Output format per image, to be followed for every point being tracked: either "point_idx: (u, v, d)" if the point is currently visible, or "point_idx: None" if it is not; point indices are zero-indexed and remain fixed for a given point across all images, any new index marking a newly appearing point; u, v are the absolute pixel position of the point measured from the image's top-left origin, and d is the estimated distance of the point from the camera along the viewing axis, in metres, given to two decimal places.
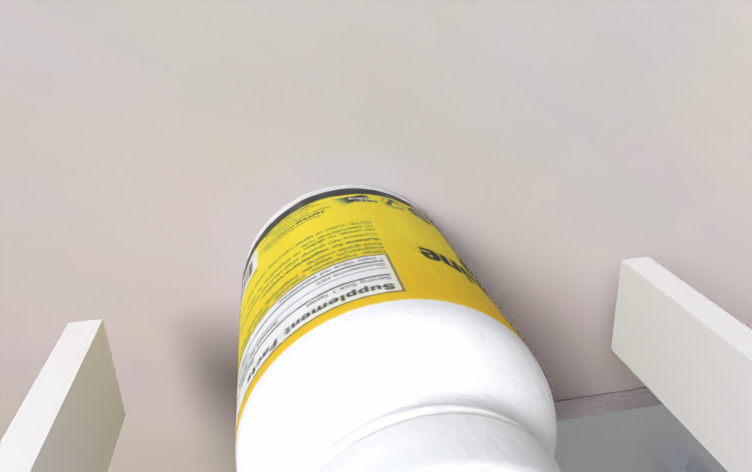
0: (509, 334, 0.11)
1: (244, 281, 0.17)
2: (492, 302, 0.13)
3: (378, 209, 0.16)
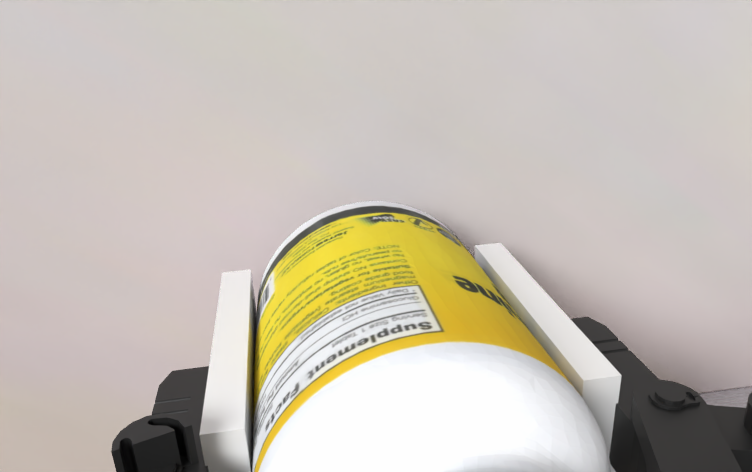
0: (561, 381, 0.10)
1: (259, 306, 0.15)
2: (535, 338, 0.12)
3: (405, 230, 0.14)
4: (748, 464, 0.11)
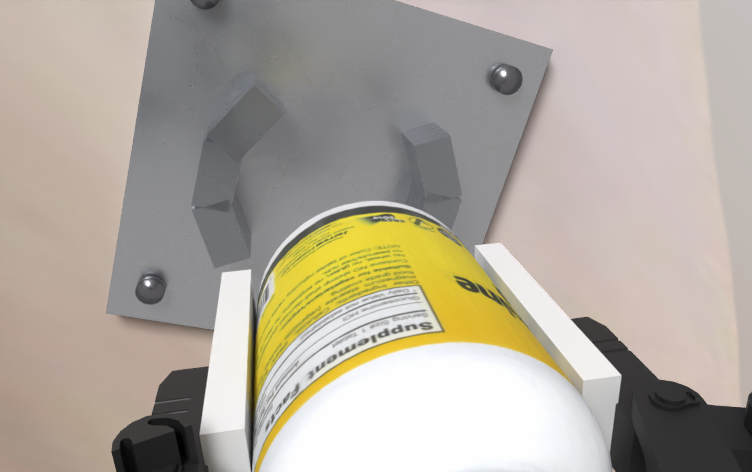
0: (562, 382, 0.10)
1: (259, 306, 0.15)
2: (536, 339, 0.12)
3: (406, 230, 0.14)
4: (748, 464, 0.11)
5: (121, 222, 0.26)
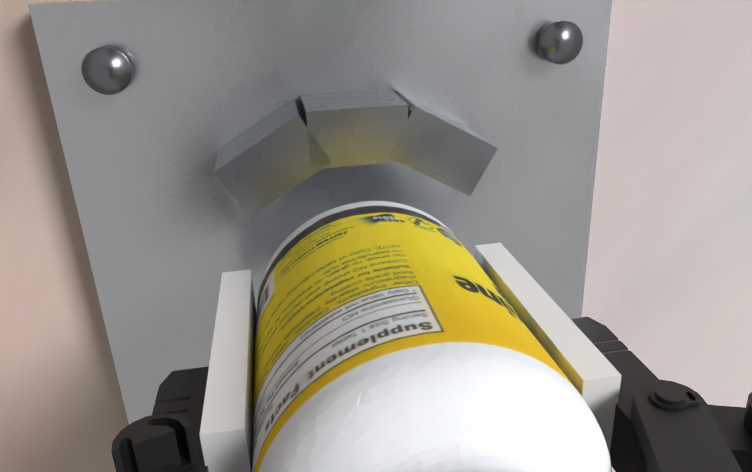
0: (562, 382, 0.10)
1: (259, 306, 0.15)
2: (536, 339, 0.12)
3: (406, 230, 0.14)
4: (748, 464, 0.11)
5: None
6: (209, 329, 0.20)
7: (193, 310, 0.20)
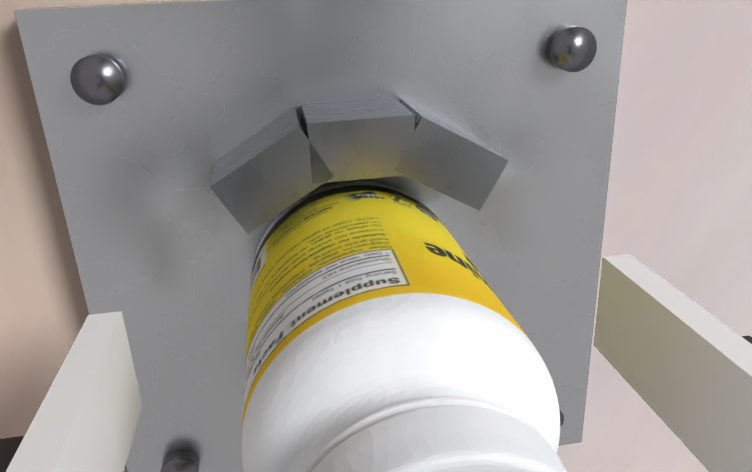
0: (513, 329, 0.11)
1: (252, 276, 0.17)
2: (497, 298, 0.13)
3: (385, 205, 0.16)
4: None
5: (200, 3, 0.16)
6: (206, 348, 0.19)
7: (188, 329, 0.19)
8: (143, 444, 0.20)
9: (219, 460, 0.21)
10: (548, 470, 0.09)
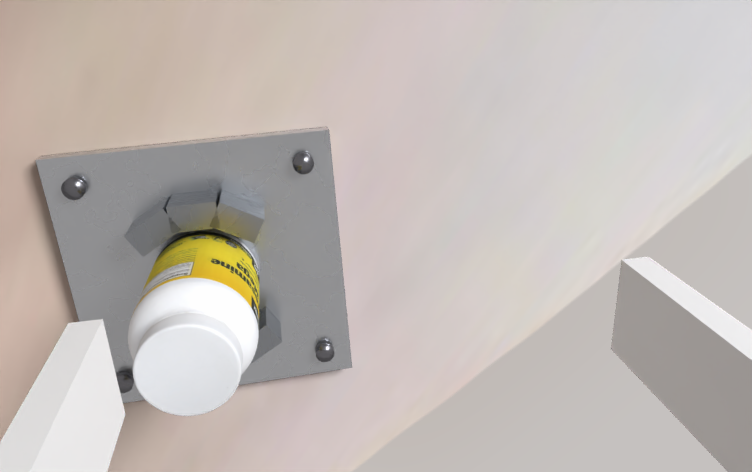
0: (229, 290, 0.30)
1: None
2: (240, 280, 0.32)
3: (206, 241, 0.34)
4: None
5: (120, 152, 0.35)
6: None
7: (124, 305, 0.38)
8: None
9: None
10: (214, 330, 0.27)
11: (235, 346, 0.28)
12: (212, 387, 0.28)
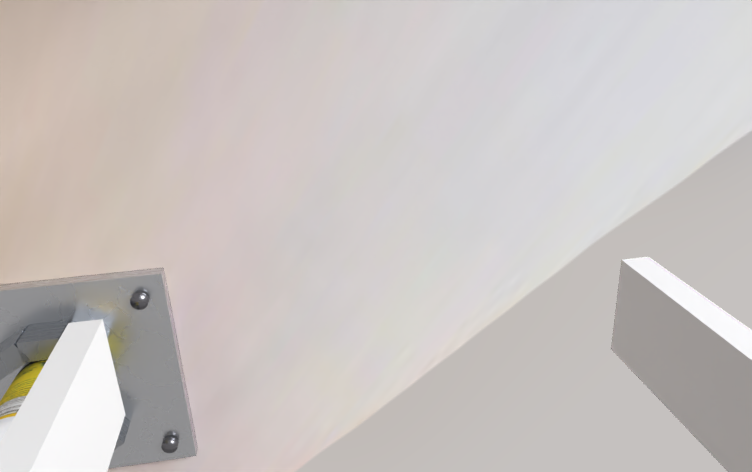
0: None
1: None
2: None
3: None
4: None
5: None
6: None
7: None
8: None
9: None
10: None
11: None
12: None
